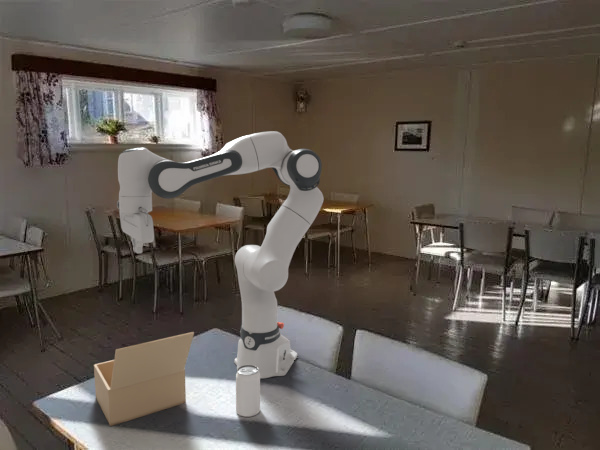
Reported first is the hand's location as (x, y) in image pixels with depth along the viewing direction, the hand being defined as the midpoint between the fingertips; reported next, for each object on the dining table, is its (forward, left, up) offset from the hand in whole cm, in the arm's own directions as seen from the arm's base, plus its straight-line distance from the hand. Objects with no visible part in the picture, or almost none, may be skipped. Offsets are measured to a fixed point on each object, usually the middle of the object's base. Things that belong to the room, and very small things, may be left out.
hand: (138, 252), depth 137 cm
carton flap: (+16, +20, -22) cm, 33 cm away
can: (0, +38, -39) cm, 55 cm away
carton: (+10, +9, -39) cm, 41 cm away
